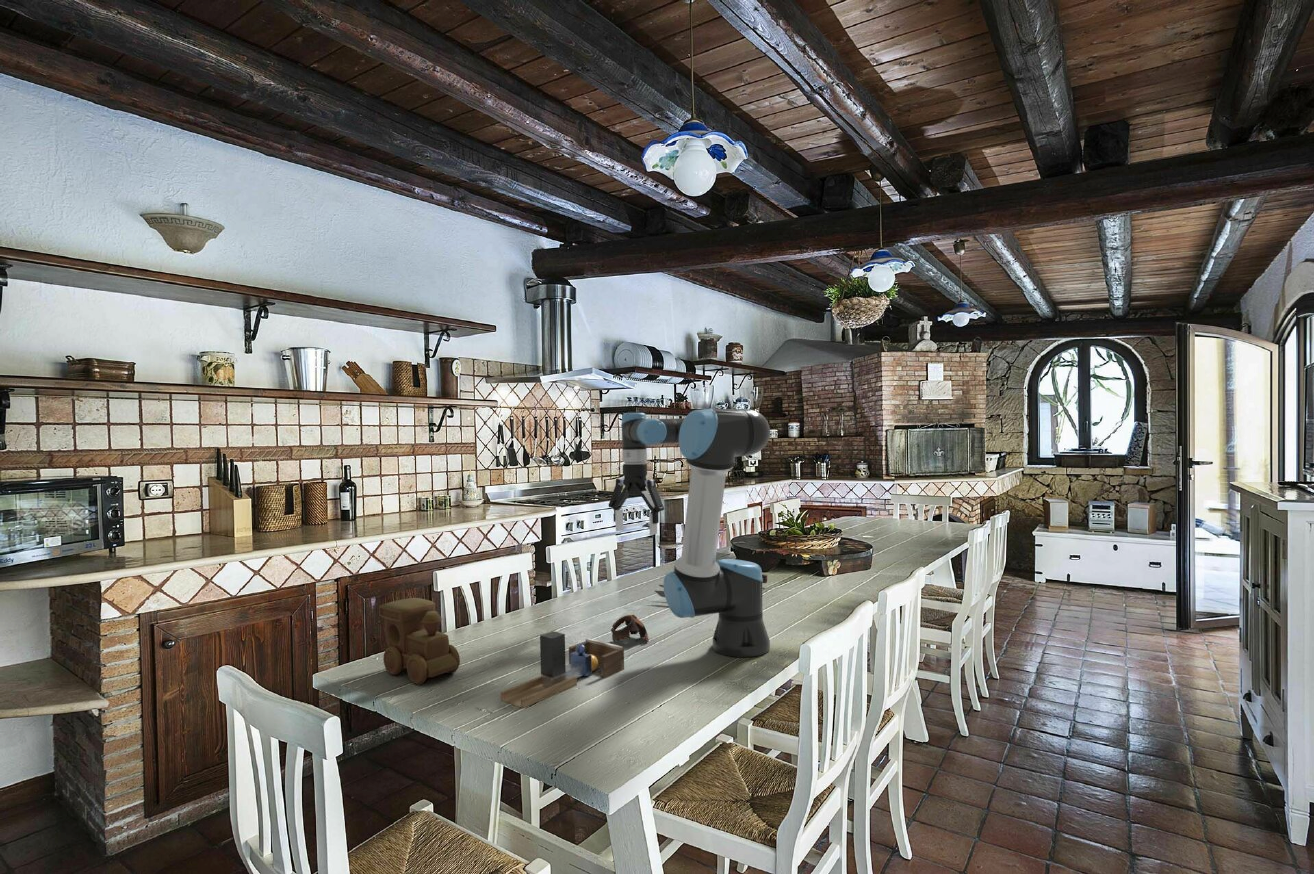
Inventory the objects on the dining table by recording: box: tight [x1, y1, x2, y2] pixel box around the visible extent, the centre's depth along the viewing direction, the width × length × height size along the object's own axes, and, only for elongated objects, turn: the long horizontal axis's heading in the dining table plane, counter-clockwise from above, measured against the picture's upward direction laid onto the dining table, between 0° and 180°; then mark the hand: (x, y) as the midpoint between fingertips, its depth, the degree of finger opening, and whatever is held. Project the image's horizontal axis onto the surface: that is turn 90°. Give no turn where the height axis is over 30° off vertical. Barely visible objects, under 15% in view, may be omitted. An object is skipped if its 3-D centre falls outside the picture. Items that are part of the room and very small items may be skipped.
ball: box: [590, 654, 599, 672], centre depth 168 cm, size 4×4×4 cm
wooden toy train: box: [378, 597, 461, 685], centre depth 169 cm, size 20×11×17 cm, turn 52°
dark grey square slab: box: [539, 631, 593, 687], centre depth 162 cm, size 5×12×12 cm, turn 142°
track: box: [500, 675, 578, 709], centre depth 155 cm, size 7×16×2 cm, turn 142°
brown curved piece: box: [610, 614, 650, 643], centre depth 191 cm, size 12×10×8 cm
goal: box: [568, 637, 625, 679], centre depth 170 cm, size 12×7×6 cm, turn 52°
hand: (636, 532), depth 211 cm, fingers open, 13 cm apart
